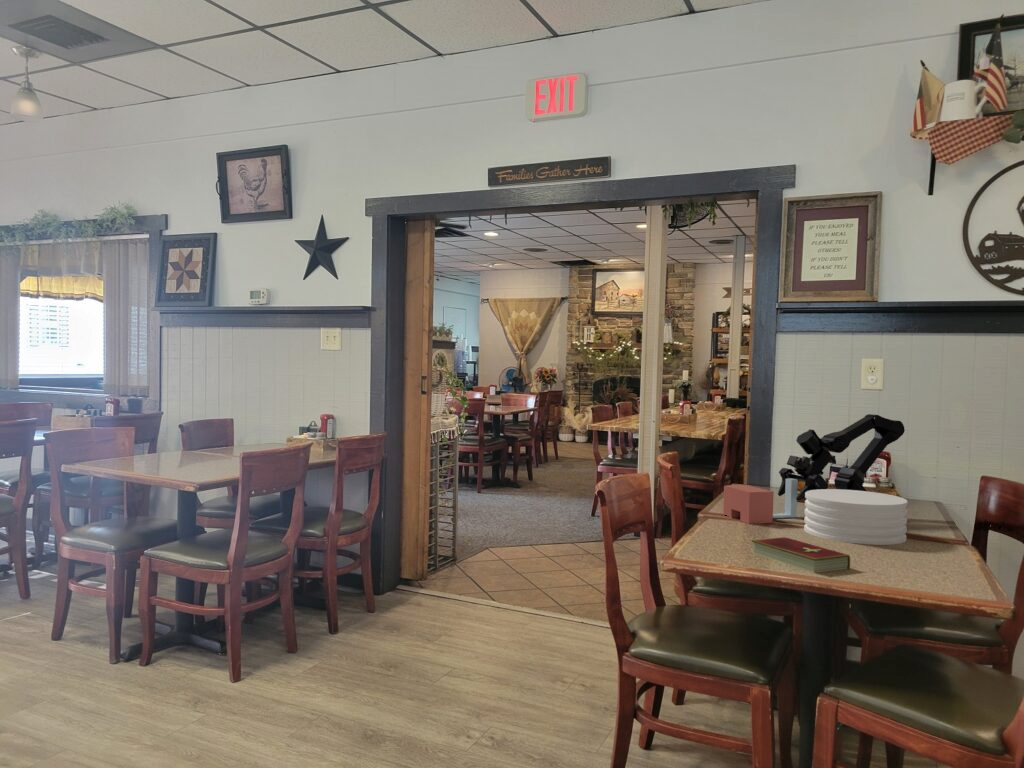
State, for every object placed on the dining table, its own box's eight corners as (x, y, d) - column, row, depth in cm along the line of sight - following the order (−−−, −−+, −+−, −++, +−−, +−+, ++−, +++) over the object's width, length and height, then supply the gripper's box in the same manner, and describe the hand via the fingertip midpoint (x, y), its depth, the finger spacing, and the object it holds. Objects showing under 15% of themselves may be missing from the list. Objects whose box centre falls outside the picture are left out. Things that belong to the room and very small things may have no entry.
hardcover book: (785, 551, 201) (785, 535, 201) (850, 570, 182) (850, 553, 182) (751, 554, 196) (751, 539, 196) (814, 575, 177) (815, 557, 177)
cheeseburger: (795, 496, 290) (802, 472, 288) (820, 507, 282) (827, 483, 280) (781, 498, 283) (788, 474, 281) (807, 509, 275) (814, 484, 273)
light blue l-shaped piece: (790, 515, 250) (791, 478, 250) (796, 517, 247) (797, 479, 247) (757, 516, 246) (758, 479, 246) (763, 518, 243) (764, 480, 243)
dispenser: (747, 514, 251) (748, 484, 251) (774, 522, 238) (775, 491, 238) (723, 515, 248) (724, 485, 248) (748, 523, 235) (749, 492, 235)
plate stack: (920, 548, 207) (921, 507, 207) (813, 541, 213) (815, 501, 213) (890, 528, 235) (891, 491, 234) (796, 522, 240) (797, 487, 240)
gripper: (784, 444, 258) (756, 476, 255) (821, 450, 240) (792, 485, 237) (802, 466, 261) (775, 499, 257) (841, 474, 243) (812, 508, 240)
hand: (787, 497), depth 248 cm, fingers open, 9 cm apart
